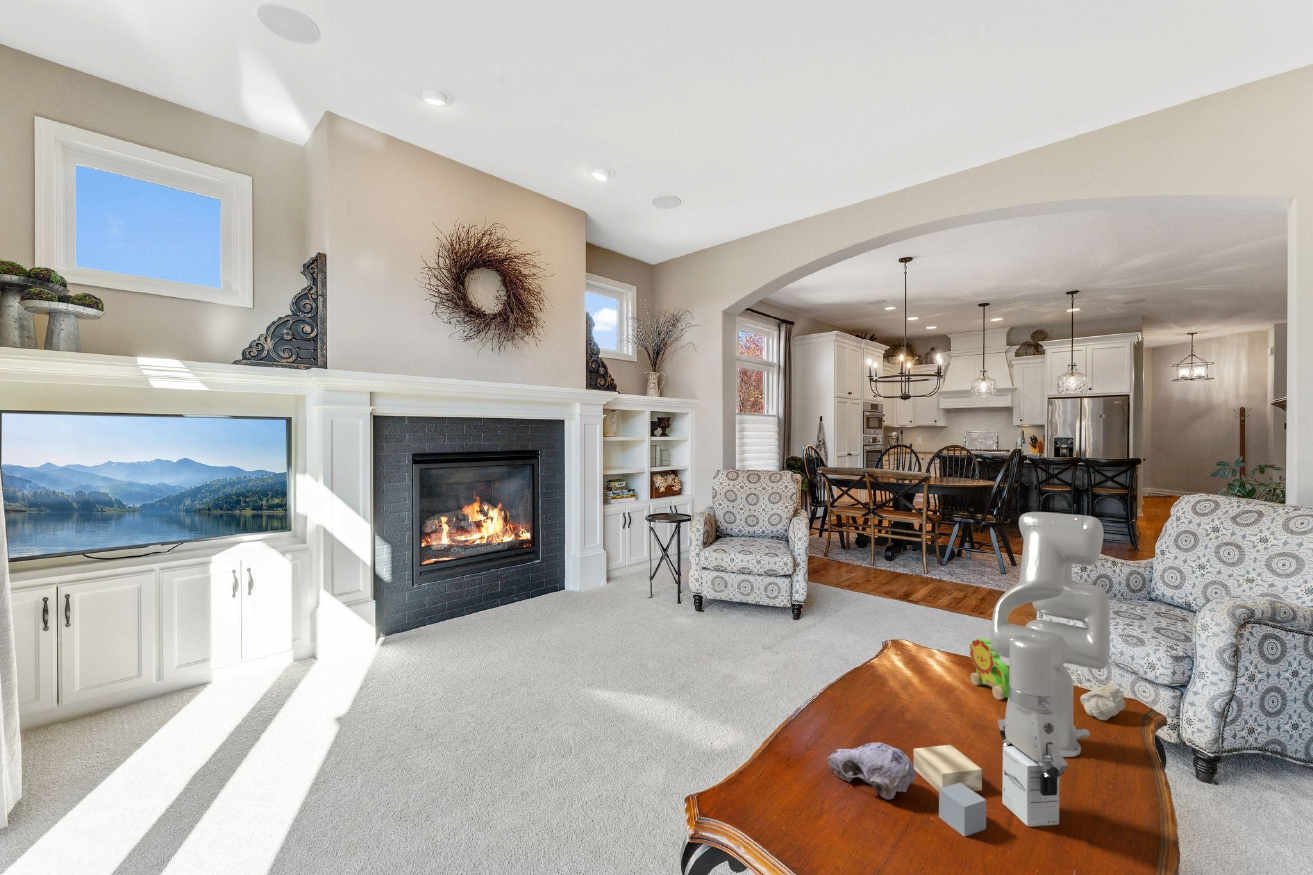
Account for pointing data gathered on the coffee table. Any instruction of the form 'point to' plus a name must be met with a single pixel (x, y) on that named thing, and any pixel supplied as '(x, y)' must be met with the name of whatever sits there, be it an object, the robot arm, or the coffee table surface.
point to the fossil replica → (1103, 702)
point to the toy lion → (989, 668)
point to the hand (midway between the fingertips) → (1029, 779)
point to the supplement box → (1027, 789)
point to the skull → (875, 767)
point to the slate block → (962, 809)
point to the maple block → (947, 767)
